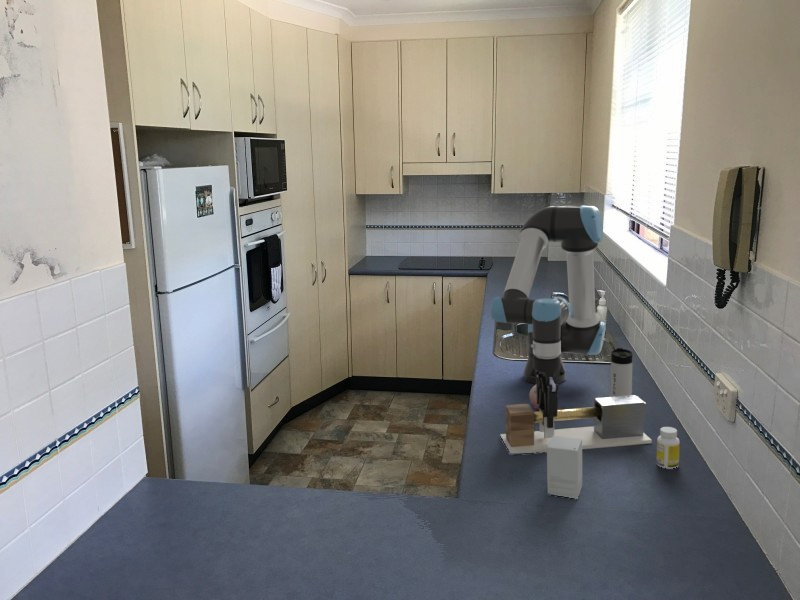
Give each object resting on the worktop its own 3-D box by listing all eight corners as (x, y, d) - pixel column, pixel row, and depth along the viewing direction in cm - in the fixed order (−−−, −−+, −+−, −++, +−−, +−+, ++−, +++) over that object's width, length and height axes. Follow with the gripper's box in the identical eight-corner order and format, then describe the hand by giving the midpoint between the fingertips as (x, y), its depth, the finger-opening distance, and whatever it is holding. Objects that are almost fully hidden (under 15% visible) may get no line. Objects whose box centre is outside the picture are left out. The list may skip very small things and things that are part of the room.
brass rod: (512, 423, 185) (511, 409, 184) (601, 415, 187) (601, 402, 186) (515, 428, 181) (515, 414, 181) (605, 420, 183) (606, 407, 183)
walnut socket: (506, 438, 187) (505, 405, 185) (528, 436, 188) (527, 403, 185) (511, 447, 181) (510, 413, 179) (534, 445, 182) (534, 411, 180)
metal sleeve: (593, 430, 189) (594, 398, 187) (635, 427, 190) (636, 394, 188) (602, 439, 183) (602, 405, 181) (645, 435, 184) (646, 402, 182)
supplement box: (583, 486, 160) (583, 438, 158) (577, 500, 154) (578, 451, 151) (552, 481, 163) (552, 434, 161) (546, 495, 157) (546, 446, 154)
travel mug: (628, 408, 207) (629, 347, 203) (633, 416, 200) (635, 353, 196) (607, 408, 208) (609, 347, 203) (612, 416, 201) (613, 354, 197)
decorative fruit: (538, 403, 214) (538, 374, 212) (561, 408, 209) (561, 379, 207) (523, 412, 207) (523, 382, 205) (547, 418, 202) (546, 387, 200)
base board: (500, 437, 190) (500, 434, 190) (632, 426, 193) (632, 423, 193) (510, 455, 178) (510, 452, 178) (651, 443, 181) (651, 439, 181)
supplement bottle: (680, 463, 169) (682, 427, 167) (676, 471, 165) (677, 435, 163) (658, 458, 172) (660, 424, 170) (654, 467, 168) (655, 431, 166)
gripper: (524, 347, 187) (525, 423, 192) (542, 365, 171) (542, 447, 176) (550, 345, 188) (550, 421, 193) (570, 363, 172) (569, 445, 177)
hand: (546, 434), depth 185 cm, fingers closed on brass rod, 3 cm apart
